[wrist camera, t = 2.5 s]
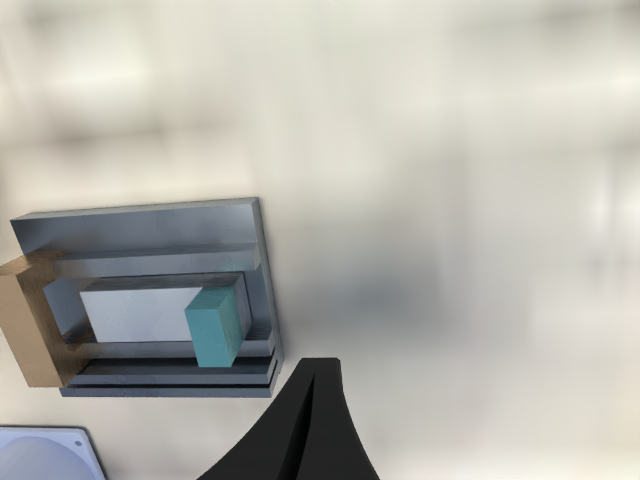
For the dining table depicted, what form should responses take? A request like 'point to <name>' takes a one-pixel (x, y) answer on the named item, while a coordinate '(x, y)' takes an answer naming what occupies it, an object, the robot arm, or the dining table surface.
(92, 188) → the dining table surface
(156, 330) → the white and teal block
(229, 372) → the base
